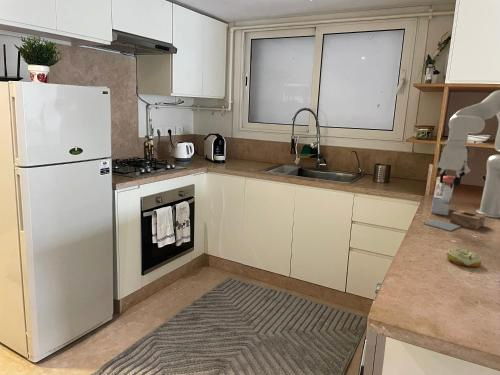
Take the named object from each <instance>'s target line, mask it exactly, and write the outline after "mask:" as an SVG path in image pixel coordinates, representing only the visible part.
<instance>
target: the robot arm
mask: <svg viewBox="0 0 500 375" xmlns="http://www.w3.org/2000/svg"><path fill="white" fill-rule="evenodd" d="M495 116H496V119H497V121H498V125H497V126H498V127H497V132H496V135H495V141H494V149H495V151H497V152H500V89H498V90H495V91H493V92H491V93H490V94H489V95H488V96H487V97H486V98H484V99H483V100H482V101H481V102H478V103H475V104H473V105H470V106H465V107H464V108H461V109H459V110H458V111H456V112H455V113H454V114H453V115H452V116H451V117H450V119H449V121H448V128H449V131H448V136H447V137H448V138H447V140H444V143H445V144H446V145H445V146H444V147H443V150H442V153H441V155H440V159H439V161H438V162H437V163H436V164H435V167H436V168H437V170H438V172H439V174H440V176H439V177H440V183H445V182H443V181H442V180H443V176H447V172H448V170H450V171H453V172H454V171H455V173H456V176H454V177H455V182H454V187H459V186H460V185H461V182H462V178H464V176H466V175H467V174H468V173H470V172H471V169H470V168H469V166H468V164H467V162H468V149H467V148H466V147H467V144H468V139H469V134H480V133H481V132H482V131H484V129H485V127H486V121H485V120H488V119H492V118H494V117H495ZM484 181H485V182H484V187H483V191H482V197H481V200H480V201H481V202H480V206H479V208H478V209H476V211H475V213H477V214H481V215H485V216H486V217H488V218H493V219H495V218H496V219H500V154H493V155H490V156H489V157H488V158H487V161H486V177H485V180H484Z"/></svg>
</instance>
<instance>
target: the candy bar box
mask: <svg viewBox="0 0 500 375" xmlns="http://www.w3.org/2000/svg"><path fill="white" fill-rule="evenodd" d="M435 180H436V182H435V187H434V193H433V194H434V195H433V197H434V196H441V197H443V191H444V186H445V183H440V176H437V177H436V179H435Z"/></svg>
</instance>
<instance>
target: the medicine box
mask: <svg viewBox="0 0 500 375" xmlns="http://www.w3.org/2000/svg"><path fill="white" fill-rule="evenodd" d="M441 202H442V197H441V196H434V195H433V198H432V203H431V208H430V209H431V210H430V213H431V214H435V215H442V216H449V211H450V207H451V204H450V205H446V204H442V203H441Z"/></svg>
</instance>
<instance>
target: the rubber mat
mask: <svg viewBox="0 0 500 375" xmlns="http://www.w3.org/2000/svg"><path fill="white" fill-rule="evenodd" d="M423 225H425V226H429V227H433V228H437V229H440V230H443V231H447V232H452V231H455V230H457V229H460V228H462V226H460V225H456V224H452V223H450V222H447V221H444V220H440V219H436V218H434V219H431V220H428V221H425V222H423Z"/></svg>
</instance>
